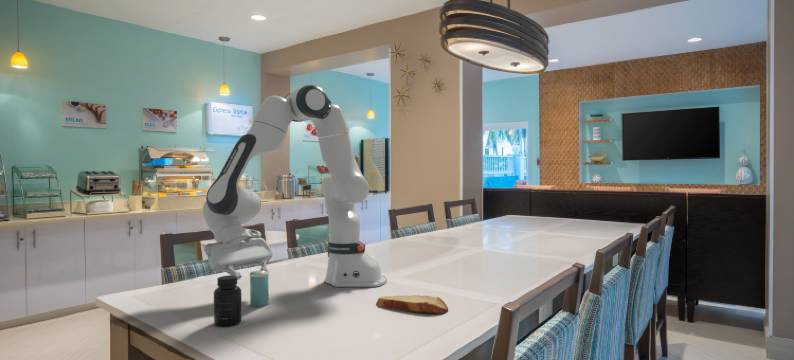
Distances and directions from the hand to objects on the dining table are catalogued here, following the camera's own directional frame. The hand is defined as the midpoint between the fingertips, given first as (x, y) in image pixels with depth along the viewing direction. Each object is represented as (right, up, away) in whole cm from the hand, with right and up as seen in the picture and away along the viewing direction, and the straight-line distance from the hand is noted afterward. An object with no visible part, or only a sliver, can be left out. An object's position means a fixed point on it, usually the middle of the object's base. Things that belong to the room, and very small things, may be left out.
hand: (252, 275), depth 136 cm
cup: (+3, -8, -2) cm, 9 cm away
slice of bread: (+48, -9, -4) cm, 49 cm away
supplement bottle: (-1, -9, -18) cm, 20 cm away
